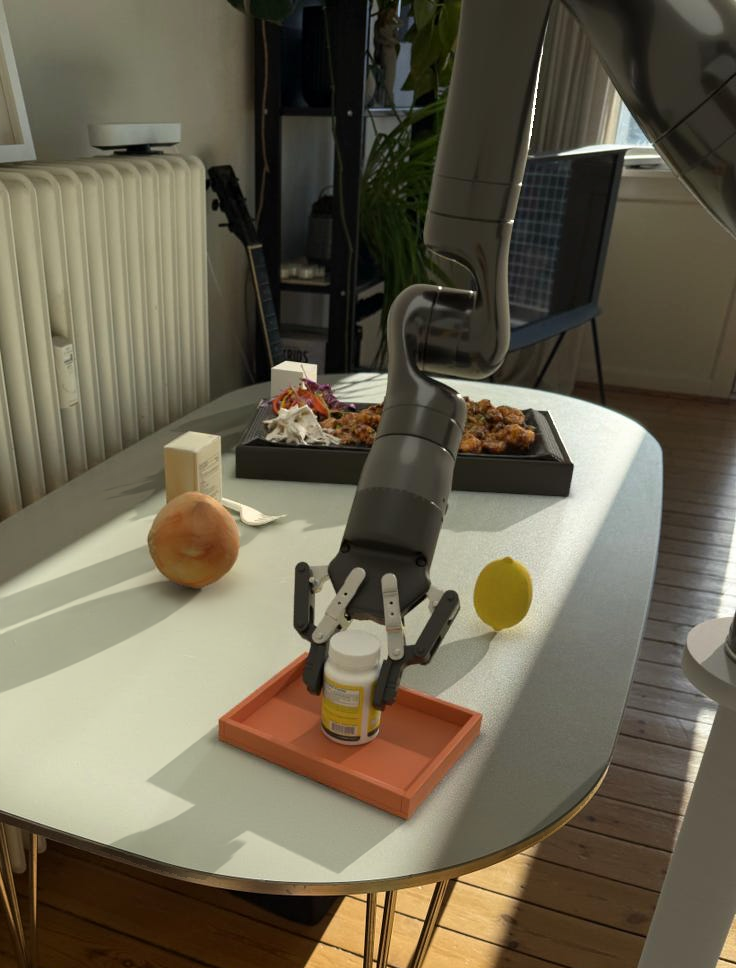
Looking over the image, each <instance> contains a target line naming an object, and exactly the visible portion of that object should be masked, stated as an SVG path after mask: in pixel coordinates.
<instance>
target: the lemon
mask: <svg viewBox="0 0 736 968" xmlns="http://www.w3.org/2000/svg"><path fill="white" fill-rule="evenodd" d="M533 595H534V588H533V581H532V577H531V573H530V572H529V570H528V569H527V567H526V566H525V565H523V563H521V562H520V561H518V560H516V559H514V558H513V557H512V556H509V555H506V556H503V558H497V559H495V560H492V561H490V562H489V563H487V564H486V565H485V566H484V567H483V568H482V569H481V570H480V572H479V574H478V576H477V578H476V582H475V585H474V588H473V595H472V596H473V598H472V600H473V608H474V610H475V613H476V616H477V617H478V618H479V620H480V621H481V622H483V624H485V625H487V626H489V627H490V628H492V629H493V630H494V631H495V632H500V631H503V630H504V629H509V628H512V627H514V626H516V625H518V624H520V622H522V621H523V620H524V619H525V618H526V616H527V615H528V613H529V610H530V608H531V606H532V601H533Z"/></svg>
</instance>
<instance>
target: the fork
mask: <svg viewBox="0 0 736 968" xmlns="http://www.w3.org/2000/svg"><path fill="white" fill-rule="evenodd" d="M222 506H223V507H225V508H228V509H231V510H234V511H236V512H238V513H239V515H240V520H241V521H242V523H243V524H245V525H247V526H260V525H265V524H268V523H270V522H273V521H276V520H279V519H281V518H284V517H287V516H288V513H287V514H284V515H283V514H282V515H277V516H276V515H275V516H273V515H267V514H264V513H262V512H260V511H258V510H257V509H255V508H252V507H250V506H247V505H245V504H242V503H239V502H237V501H234V500H232V499H229V498H225V497H223V496H222Z"/></svg>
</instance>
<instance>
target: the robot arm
mask: <svg viewBox="0 0 736 968" xmlns="http://www.w3.org/2000/svg"><path fill="white" fill-rule="evenodd" d="M558 1H559V3H560V4H561V5H562V6H563V7H564V8H565V10H566V11H567V12H568V13H569V15H570V16H571V17H572V18H573V19H574V21H575V22H576V23H577V25H578V26H579V27H580V28H581V30H582V32H583V33H584V35H585V37H586V39H588V42H589V43H590V45H591V46H592V48H593V50H594V52H595V54H596V56H597V58H598V60H599V61H600V63H601V65H602V67H603V69H604V71H605V72H606V75H607V77H608V78H609V80H610V82H611V84H612V85H613V87H614V89H615V91H616V93H617V94H618V95H619V97H620V98H621V101H622V102H623V104H624V106H625V107H626V109H627V110H628V113H630V115H631V117H632V118H633V120H634V121H635V123H636V124H637V126H638V127H639V129H640V131H641V132H642V134H643V135H644V136H645V138H646V140H648V142H649V143H650V144H652V145H651V146H652V148H653V149H654V150H655V151H656V153H657V154H658V155H659V157H660V158H661V159H662V161H663V162H664V163H665V165H666V166H667V167H668V168H669V170H670V171H671V172H672V174H673V175H674V176H675V177H676V179H677V180H678V181H679V182H680V184H681V185H682V187H684V189H685V190H686V191H687V192H688V193H689V194H690V195H691V196H692V197H693V198H694V200H695V201H696V202H697V203H698V205H700V206H701V208H702V209H703V210H705V212H706V213H707V214H708V215H709V216H710V217H711V218H712V219H713V220H714V221H715V222H716V223H717V224H718V225H719V226H720V227H721V228H723V230H724V231H725V232H726V233H728V235H730V236H731V237H732V238H733V239H734V240H735V241H736V0H558ZM553 3H554V0H461V3H460V14H459V21H458V29H457V36H456V37H457V38H456V44H455V51H454V59H453V65H452V69H451V74H450V75H451V76H450V81H449V86H448V91H447V96H446V102H445V107H444V113H443V117H442V123H441V127H440V133H439V139H438V144H437V150H436V156H435V161H434V166H433V170H432V171H433V173H432V177H431V185H430V189H429V195H428V201H427V210H426V213H425V218H424V219H425V221H424V225H423V226H424V227H423V237H422V238H423V244H424V245H425V248H426V249H427V250H428V251H429V252H431V253H432V254H435V255H436V256H437V257H438V256H439V257H441V258H444V259H446V260H449V261H450V262H451V261H452V262H453V263H456V264H459V265H460V266H462V267H464V268H465V269H467V271H468V272H469V273H470V275H471V276H472V279H473V280H474V283H475V287H476V291H475V290H474V291H472V290H467V289H460V288H454V287H447V286H440V285H435V284H429V283H428V284H427V283H415V284H411V285H409V286H407V287H406V288H404V289H403V290H402V291H401V292H399V293H398V295H397V296H396V297H395V298H394V299H393V301H392V303H391V305H390V308H389V310H388V314H387V318H386V351H387V352H386V353H387V354H386V355H387V382H386V390H385V396H384V397H385V402H384V406H383V410H382V414H381V417H380V421H379V424H378V428H377V431H376V435H375V438H374V442H373V445H372V448H371V451H370V453H369V455H368V457H367V459H366V462H365V464H364V466H363V469H362V472H361V476H360V479H359V483H358V484H357V486H356V490H355V492H354V493H355V494H354V495H353V496H354V497H353V500H352V503H351V507H350V509H349V510H350V511H349V515H348V517H347V521H346V525H345V527H344V531H343V535H342V538H341V543H340V545H339V549H338V552H337V554H336V555H335V556H334V557H333V558H332V559H331V560H330V562H329V564H328V565H327V564H325V565H311V566H310V565H309V563H308V562H306V561H300V562H298V563H297V564H296V565H295V566H294V587H293V588H294V589H293V617H292V618H293V620H292V625H293V626H292V627H293V628H294V630H295V632H296V633H297V634H298V635H299V636H300V638H301V639H303V640H306V642H308V643H310V644H309V645H310V648H309V650H308V653H309V654H308V657H307V661H306V664H305V668H304V671H303V674H302V677H303V682H304V683H305V684H306V686H307V691H308V692H309V693H310V694H312V695H316V696H320V694H321V691H322V687H323V672H324V664H325V662H326V660H327V659H328V658H329V653H328V652H329V644H330V639H331V638H332V636H333V635H335V634H336V633H338V632H341V631H346V630H348V629H349V627H350V626H351V624H352V622H353V621H354V620H356V621H361V622H362V621H371V622H373V623H376V624H377V625H381V626H385V632H386V641H387V653H388V654H387V658H386V659H385V658H384V659H383V660H382V667H381V670H380V674H379V678H378V682H377V685H376V689H375V693H374V696H373V700H372V707H373V708H374V709H375V710H378V711H382V712H384V710H385V707H386V705H389V706H392V704H393V703H394V702H395V700H396V697H397V693H398V689H399V685H401V682H402V678H403V673H404V671H405V669H406V668H407V667H409V666H415V665H420V666H428V665H429V664H430V663H431V662H432V660H433V659H434V657H435V655H436V653H437V651H438V649H439V647H441V644H442V643H443V640H444V639H445V638H446V635H447V634H448V632H449V630H450V628H451V626H452V625H453V623H454V622H455V619H456V618H457V616H458V615H459V613H460V611H461V600H460V597H459V593H458V592H457V591H456V590H454V589H448V590H444V589H442V588H440V587H437V586H435V585H434V584H432V582H431V578H430V572H431V568H432V564H433V560H434V557H435V553H436V549H437V545H438V541H439V538H440V534H441V530H442V526H443V522H444V518H445V516H446V515H447V512H448V509H449V504H450V503H449V501H450V496H451V492H452V490H451V487H452V478H453V470H454V466H455V461H456V458H457V454H458V450H459V446H460V443H461V439H462V435H463V431H464V428H465V424H466V419H467V404H466V402H465V400H464V398H463V395H462V394H461V393H459V391H457V390H456V389H454V388H453V387H451V386H449V385H448V384H446V383H443V382H442V381H439V380H437V379H435V378H432V377H430V376H429V375H427V374H426V373H423V371H424V372H428V373H434V374H440V375H445V376H452V377H457V378H462V379H469V380H483V379H486V378H489V377H490V376H492V375H493V374H494V373H496V371H498V369H499V368H500V367H501V366H502V365H503V363H504V361H505V359H506V357H507V354H508V352H509V348H510V344H511V311H510V297H509V253H510V244H511V239H512V233H513V232H512V231H513V226H514V220H515V217H516V212H517V209H518V203H519V199H520V193H521V190H522V185H523V184H522V183H523V181H524V175H525V171H526V165H527V161H528V160H527V159H528V153H529V149H530V143H531V136H532V128H533V121H534V115H535V105H536V98H537V89H538V83H539V74H540V68H541V62H542V55H543V50H544V44H545V39H546V33H547V30H548V29H547V28H548V24H549V19H550V15H551V10H552V7H553ZM329 580H330V582H331V586H332V588H333V590H334V593H335V596H334V598H333V599H332V601H331V602H330V603H329V605H327V606H328V607H327V608H326V610H325V612H324V616H323V617H322V619H321V620H320V622H319V623H318V625H315V619H316V618H315V617H316V616H315V615H316V594H318V593H320V592H321V591H322V590H323V588H324V584H325V583H326V582H327V581H329ZM426 599H428V600H429V603H428V607H427V609H428V611H429V614H430V616H429V619H428V620H427V622H426V623H425V625H424V627H423V629H422V631H421V632H420V635H419V636H418V638H417V640H416V642H415V643H414V644H408V645H407V629H406V619H405V618H406V616H407V615H408V614H409V613H411V612H412V611H413V610H415V608H417V607H418V606H419V605H420V604H421V603H423V602H424V601H425V600H426ZM732 617H733V621H732V623H731V625H730V629H729V634H728V635H727V637H726V640H725V643H724V650H725V653H726V654H727V656H728V657H729V658H730V659H731V660H732V661H733V662H734V663H735V664H736V610H735V611H734V614H733V616H732Z"/></svg>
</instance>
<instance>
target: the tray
mask: <svg viewBox="0 0 736 968" xmlns="http://www.w3.org/2000/svg"><path fill="white" fill-rule="evenodd" d="M308 654H309V652H307V651H305V652H303V653H301V654H300V655H299V656H298V657H297V658H295V659H294V660H293V661H292V662H290V663H289V664H287V665H286V666H284V668H283V669H281V670H280V671H279V672H277V673H276V674H275V675H274V676H272V677H271V678H269V679H268V680H266V682H264V683H263V684H262V685H260V686H259V687H258V688H257V689H256V690H254V691H253V692H251V693H250V694H249V695H248V696H247V697H245V698H244V699H243V700H241V701H240V702H238V703H237V704H235V706H233V707H232V708H231V709H230V710H229V711H227V712H226V713H225V714H224V715H222V716H220V717H219V718H218V720H217V722H218V723H217V724H218V740H220V741H222V742H223V743H226V744H228V745H231V746H233V747H236V748H238V749H241V750H243V751H245V752H247V753H250V754H253V755H255V756H257V757H259V758H261V759H264V760H266V761H268V762H271V763H273V764H275V765H278V766H280V767H281V768H284V769H287V770H290V771H292V772H294V773H296V774H299V775H301V776H303V777H306V778H308V779H311V780H313V781H315V782H317V783H319V784H322V785H324V786H327V787H329V788H331V789H333V790H335V791H338V792H340V793H343V794H345V795H348V796H350V797H353V798H354V799H357V800H358V801H362V802H364V803H366V804H369V805H371V806H373V807H376V808H378V809H380V810H381V811H382V810H383V811H385V812H387V813H388V814H389V813H390V814H391V815H393V816H397V817H398V818H402V819H404V820H405V821H408V820H409V819H410V818H411V816H412V815H413V814H414V813H415V811H417V809H418V808H419V807H420V806H421V805H422V803H423V802H424V801H425V800H426V798H427V797H428V796H429V795H430V794H431V792H433V790H434V789H435V788H436V787H437V785H439V783H440V782H441V781H442V779H443V778H444V777H445V776H446V775H447V774H448V772H449V771H450V770H451V769H452V768H453V766H454V765H455V764H456V763H457V761H458V760H459V759H460V758H461V757H462V756H463V754H465V752H466V751H467V750H468V749H469V747H470V746H471V744H472V743H474V741H475V740H476V739H477V738H478V736H479V735H480V734H481V727H482V721H483V713H481V712H478V711H475V710H472V709H470V708H467V707H464V706H461V705H458V704H455V703H452V702H449V701H447V700H443V699H441V698H438V697H436V696H432V695H430V694H426V693H424V692H421V691H419V690H416V689H413V688H410V687H407V686H404V685H402V684H400V685H399V689H398V693H397V697H396V700H395V702H394V703H393V704H392V706H389V705H386V707H385V710H384V712H382V711H381V712H380V724H379V732H378V734H377V736H376V737H375V738H374V739H373V740H371V741H369V742H367V743H364V744H361V745H343V744H339V743H336V742H334V741H332V740H331V739H329V738H328V737H327V736H326V735H325V734H324V733H323V731H322V726H321V723H322V696H323V687H322V691H321V694H320V696H316V695H312V694H310V693H309V692H308V691H307V686H306V684H305V683H304V682H303V677H302V674H303V671H304V668H305V664H306V661H307V657H308Z"/></svg>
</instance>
